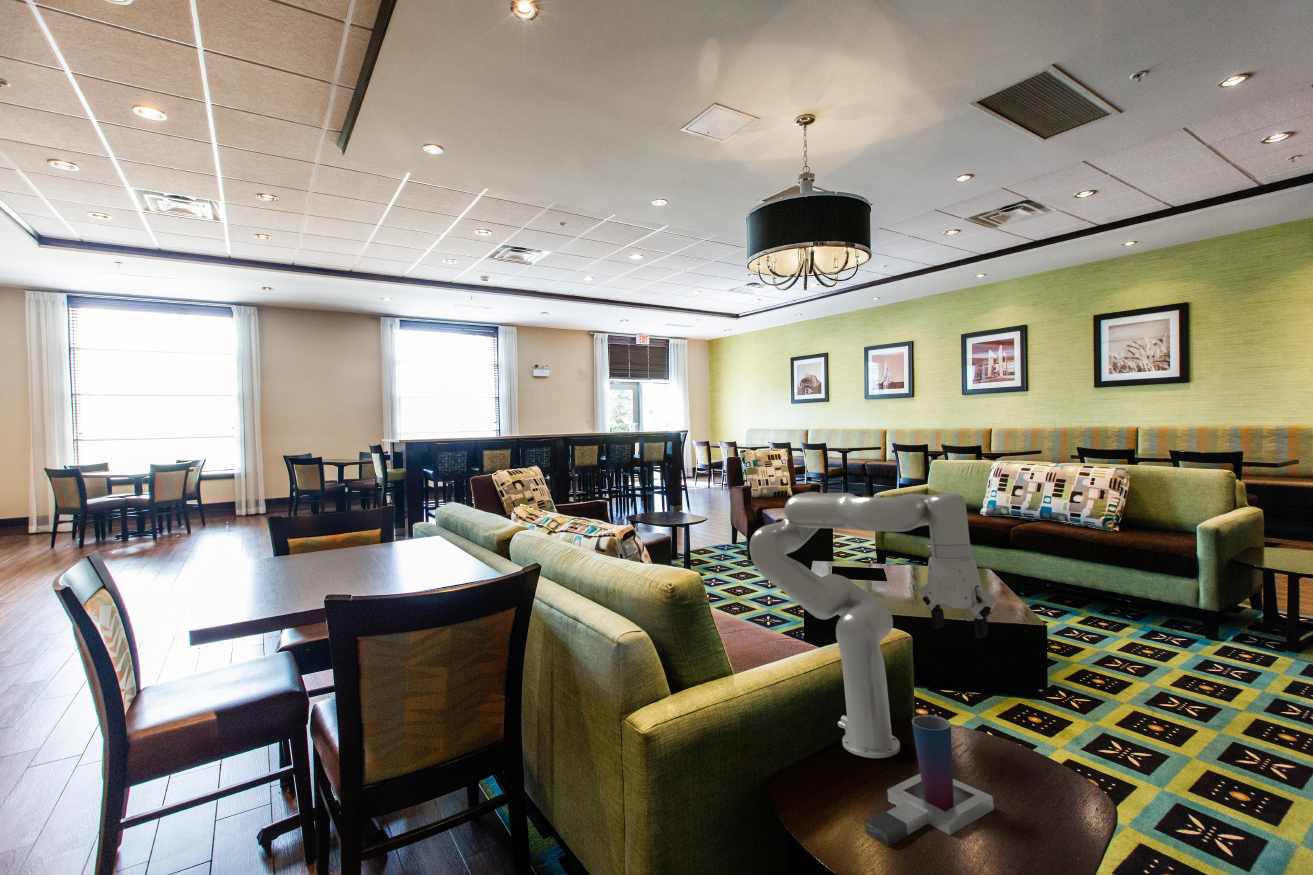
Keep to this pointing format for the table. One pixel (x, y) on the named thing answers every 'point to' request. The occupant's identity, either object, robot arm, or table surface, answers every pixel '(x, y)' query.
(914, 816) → the holder
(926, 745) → the cup
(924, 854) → the table surface
